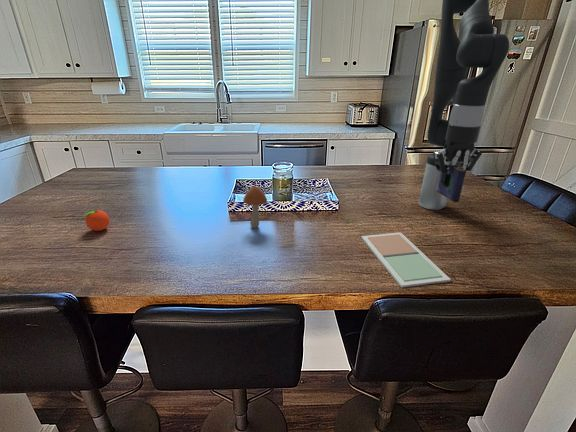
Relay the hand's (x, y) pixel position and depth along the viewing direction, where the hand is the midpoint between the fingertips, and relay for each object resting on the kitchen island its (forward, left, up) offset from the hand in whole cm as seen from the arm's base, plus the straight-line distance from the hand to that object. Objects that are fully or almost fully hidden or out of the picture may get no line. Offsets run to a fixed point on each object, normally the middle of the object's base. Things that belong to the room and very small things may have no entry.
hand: (450, 185), depth 89 cm
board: (+13, +3, -21) cm, 25 cm away
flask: (0, 0, -3) cm, 3 cm away
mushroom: (+53, -24, -21) cm, 62 cm away
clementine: (+106, -31, -21) cm, 113 cm away
